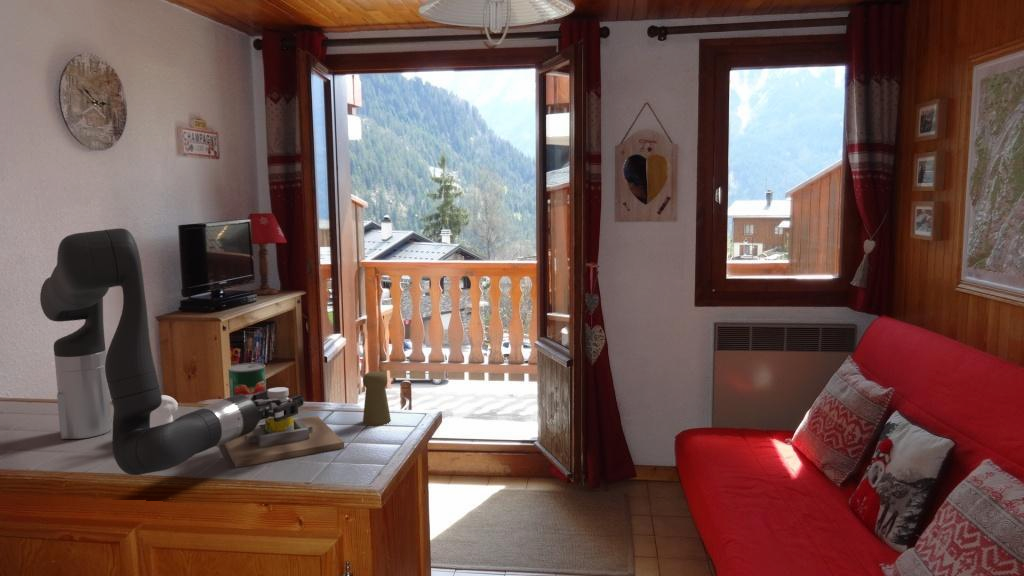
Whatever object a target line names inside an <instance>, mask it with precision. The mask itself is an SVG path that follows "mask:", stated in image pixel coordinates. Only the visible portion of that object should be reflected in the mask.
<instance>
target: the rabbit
mask: <svg viewBox="0 0 1024 576" xmlns="http://www.w3.org/2000/svg"><path fill="white" fill-rule="evenodd" d="M161 396H162V403H161V405H160V406H159V407H158V408H157V409H155V410H154V411H152V412H151V413H150V428H151V427H156V426H160V425H163V424H167V423H170V422H173V421H174V417H173V415H172V413H176V412H177V410H178V407H179V404H178V402H177V400H176V399H175V398H173V397H172V396H169V395H165V394H161Z"/></svg>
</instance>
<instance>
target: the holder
mask: <svg viewBox="0 0 1024 576" xmlns="http://www.w3.org/2000/svg"><path fill="white" fill-rule="evenodd" d="M293 422H294V430H289V431H283V432H277V433H271V434H266V426H265V422H260V423H259V422H258V424H257V426H256V428H255V429H254V430H253V431H252V432H250V433H248V434H246V435H244V436H241V437H239V438H237V439H234V440H232V441H230V442H227V443H225V444H223V445H224V446H225V448H226V450H227V452H228V455H229V457H230V459H231V460H232V462H233V464H234V466H235V468H241V467H247V466H251V465H252V466H253V465H258V464H263V463H268V462H275V461H280V460H285V459H291V458H297V457H302V456H307V455H314V454H320V453H323V452H329V451H330V452H331V451H335V450H341V449H345V441H344V440H342V439H341V438H340V436H338V434H337V433H335V431H334V430H332V429H331V428H330V426H328V425H327V423H326V422H325V421H324V420H323V419H321V418H320V416H319V415H315V416H311V417H309V416H308V417H304V418H299V417H293Z"/></svg>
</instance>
